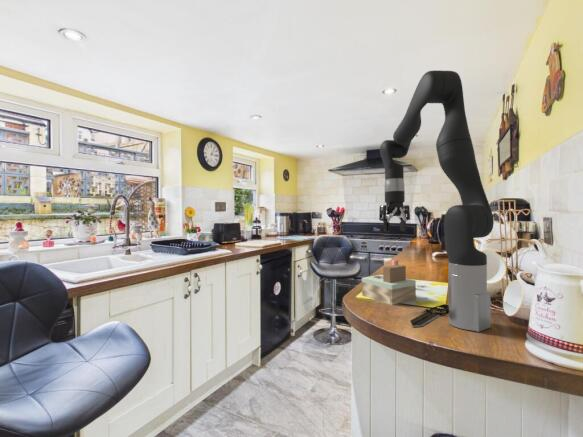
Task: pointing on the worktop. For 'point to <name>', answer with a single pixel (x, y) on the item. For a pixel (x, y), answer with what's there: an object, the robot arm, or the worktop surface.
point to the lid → (391, 278)
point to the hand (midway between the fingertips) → (395, 231)
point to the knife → (429, 315)
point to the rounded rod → (394, 262)
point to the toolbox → (389, 293)
